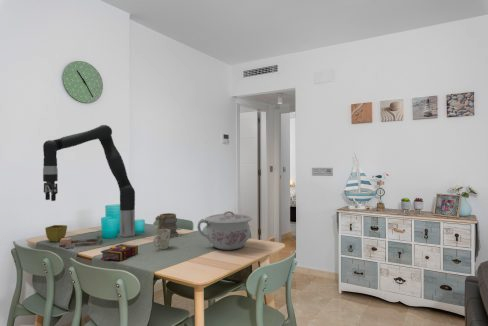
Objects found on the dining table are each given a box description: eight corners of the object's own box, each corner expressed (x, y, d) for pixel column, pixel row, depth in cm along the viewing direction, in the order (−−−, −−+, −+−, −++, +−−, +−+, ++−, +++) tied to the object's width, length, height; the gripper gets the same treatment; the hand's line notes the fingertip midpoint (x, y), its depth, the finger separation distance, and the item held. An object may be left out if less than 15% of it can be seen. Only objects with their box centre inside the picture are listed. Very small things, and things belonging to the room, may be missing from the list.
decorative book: (138, 253, 171) (138, 244, 171) (117, 263, 156) (117, 252, 156) (120, 252, 175) (120, 243, 175) (99, 260, 159) (99, 250, 159)
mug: (173, 246, 184) (173, 229, 184) (160, 252, 172) (160, 234, 172) (160, 245, 187) (160, 228, 187) (147, 251, 175) (147, 233, 175)
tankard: (165, 232, 221) (165, 211, 221) (181, 234, 217) (181, 212, 217) (146, 239, 203) (146, 215, 203) (163, 240, 198) (163, 216, 198)
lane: (101, 240, 199) (101, 232, 199) (100, 244, 189) (100, 236, 189) (62, 243, 192) (62, 235, 191) (59, 247, 182) (59, 239, 182)
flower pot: (67, 239, 202) (67, 225, 202) (58, 242, 193) (58, 228, 193) (54, 239, 203) (54, 224, 203) (44, 242, 194) (44, 227, 194)
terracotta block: (71, 244, 191) (71, 237, 191) (69, 246, 186) (69, 239, 186) (61, 244, 189) (61, 238, 189) (60, 247, 184) (60, 240, 184)
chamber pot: (261, 245, 187) (261, 210, 187) (233, 257, 165) (233, 217, 164) (223, 238, 203) (223, 206, 203) (193, 248, 180) (193, 212, 180)
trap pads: (88, 240, 199) (88, 239, 199) (71, 249, 180) (71, 247, 180) (80, 240, 199) (80, 239, 199) (62, 249, 180) (62, 247, 180)
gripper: (62, 173, 191) (62, 200, 191) (52, 173, 200) (52, 199, 200) (48, 174, 185) (48, 201, 185) (38, 173, 194) (39, 200, 194)
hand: (50, 200), depth 192 cm, fingers open, 8 cm apart
